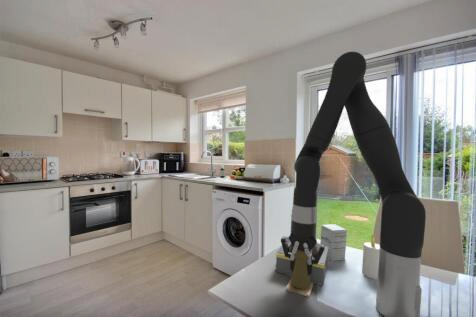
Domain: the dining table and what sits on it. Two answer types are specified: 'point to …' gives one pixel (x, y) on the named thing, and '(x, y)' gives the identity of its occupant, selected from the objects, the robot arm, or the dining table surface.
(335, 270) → the dining table surface
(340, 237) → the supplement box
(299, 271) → the olive brown knobbed peg
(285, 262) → the box
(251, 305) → the dining table surface
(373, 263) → the candle
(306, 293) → the cork coaster
